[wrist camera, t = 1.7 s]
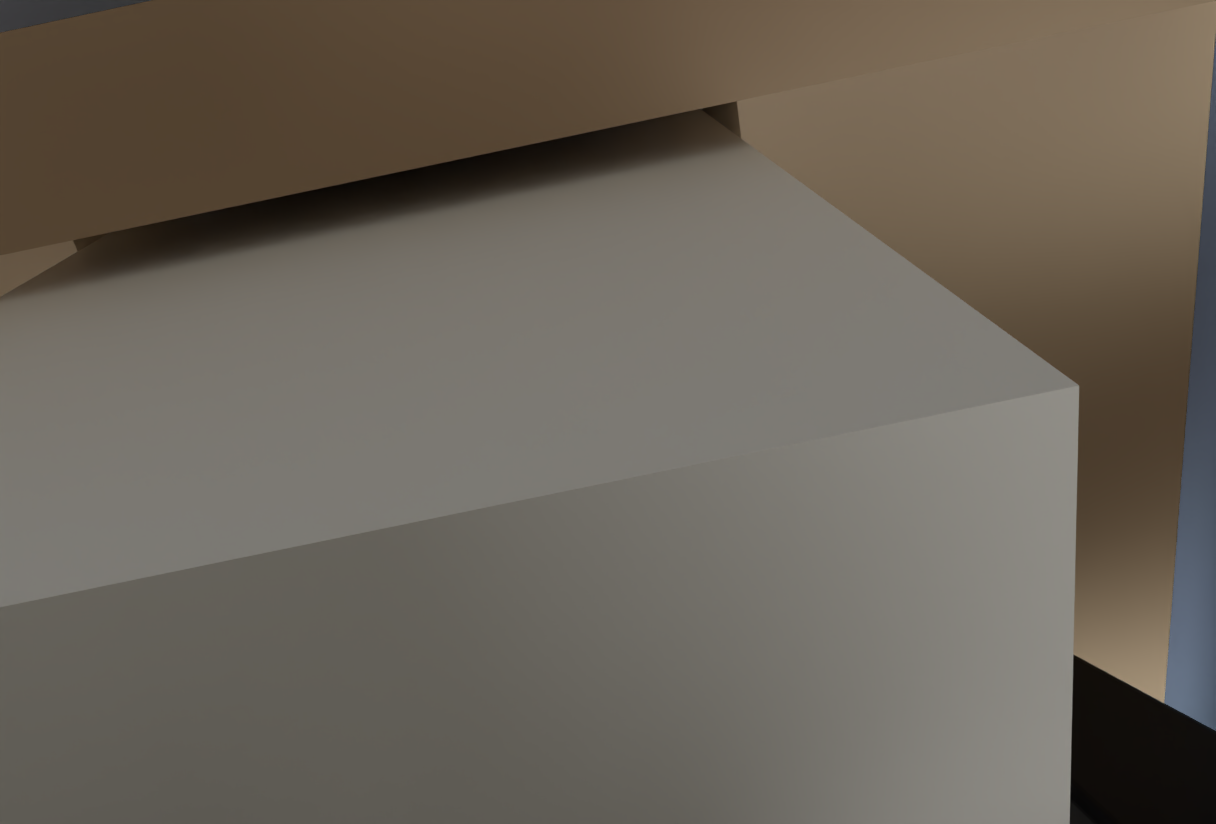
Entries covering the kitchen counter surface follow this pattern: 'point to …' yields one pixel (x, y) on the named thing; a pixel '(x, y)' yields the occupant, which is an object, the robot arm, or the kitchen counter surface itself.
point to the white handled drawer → (530, 511)
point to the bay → (758, 114)
